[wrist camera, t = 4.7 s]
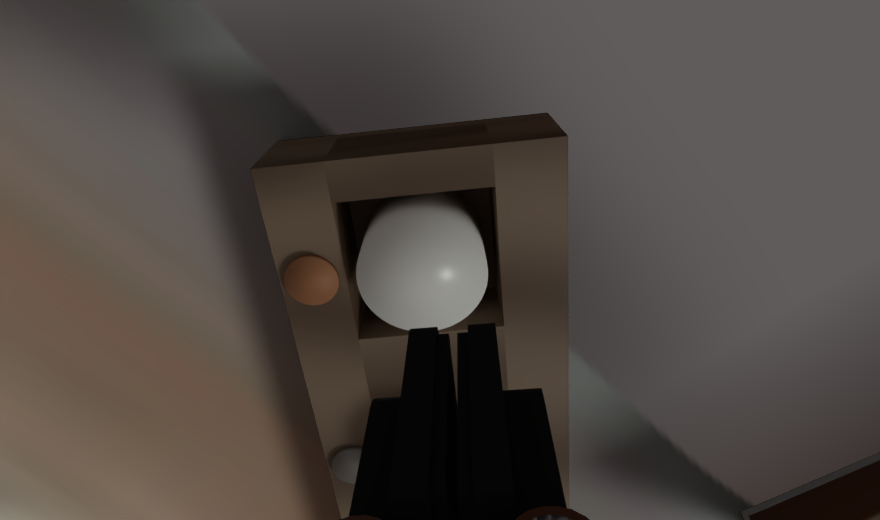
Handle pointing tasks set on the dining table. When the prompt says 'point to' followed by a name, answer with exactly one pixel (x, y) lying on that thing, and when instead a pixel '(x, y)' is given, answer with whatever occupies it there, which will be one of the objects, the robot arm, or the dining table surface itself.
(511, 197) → the button board
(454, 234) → the grey rounded piece
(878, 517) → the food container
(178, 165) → the dining table surface
